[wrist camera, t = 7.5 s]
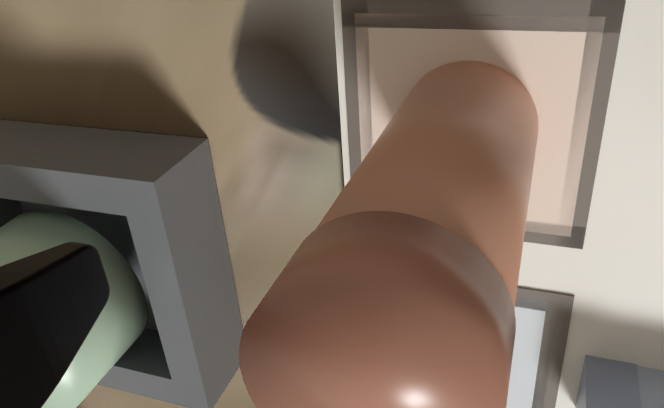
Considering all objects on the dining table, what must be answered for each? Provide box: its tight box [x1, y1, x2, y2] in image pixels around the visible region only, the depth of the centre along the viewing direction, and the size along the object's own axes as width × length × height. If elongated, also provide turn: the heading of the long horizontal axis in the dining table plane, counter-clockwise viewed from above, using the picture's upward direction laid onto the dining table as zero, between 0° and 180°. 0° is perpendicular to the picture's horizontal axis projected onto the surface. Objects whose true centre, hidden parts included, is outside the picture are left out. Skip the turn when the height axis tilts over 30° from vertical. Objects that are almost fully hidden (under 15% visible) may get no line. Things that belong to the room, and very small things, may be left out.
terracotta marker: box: [239, 61, 539, 408], centre depth 10 cm, size 3×3×8 cm
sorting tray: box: [333, 0, 664, 408], centre depth 14 cm, size 13×14×1 cm
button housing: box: [0, 120, 243, 408], centre depth 19 cm, size 8×8×3 cm
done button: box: [0, 210, 148, 408], centre depth 17 cm, size 5×5×3 cm
